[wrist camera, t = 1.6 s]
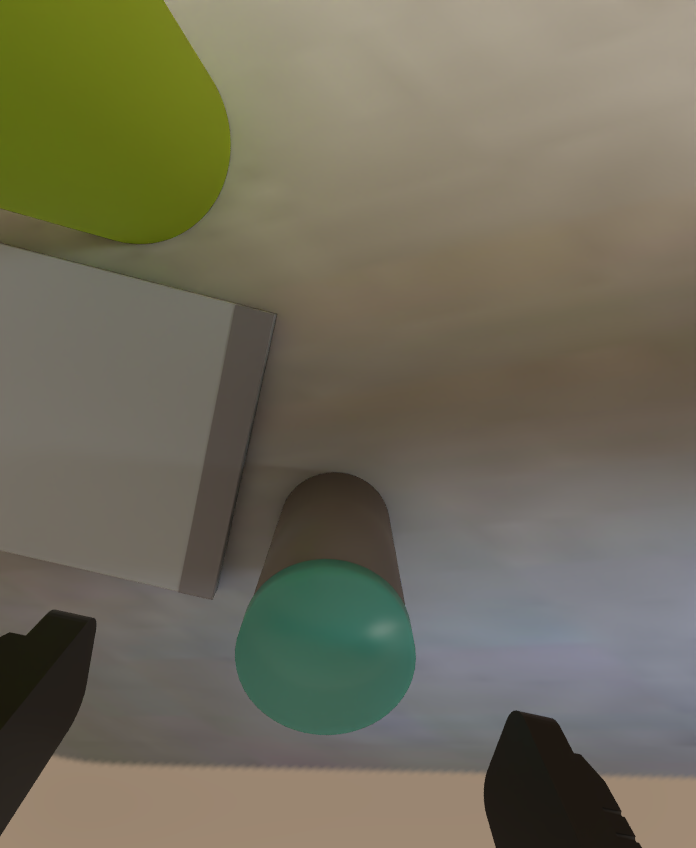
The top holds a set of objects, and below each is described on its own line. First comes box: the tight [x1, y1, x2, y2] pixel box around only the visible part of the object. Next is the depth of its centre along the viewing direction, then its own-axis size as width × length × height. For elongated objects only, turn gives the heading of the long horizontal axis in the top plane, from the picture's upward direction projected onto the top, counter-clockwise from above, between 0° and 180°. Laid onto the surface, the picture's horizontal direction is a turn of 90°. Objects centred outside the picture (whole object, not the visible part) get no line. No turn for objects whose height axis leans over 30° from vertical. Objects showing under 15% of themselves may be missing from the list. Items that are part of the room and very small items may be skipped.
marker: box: [235, 472, 416, 735], centre depth 15 cm, size 4×4×7 cm
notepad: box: [0, 243, 277, 600], centre depth 17 cm, size 13×10×1 cm
